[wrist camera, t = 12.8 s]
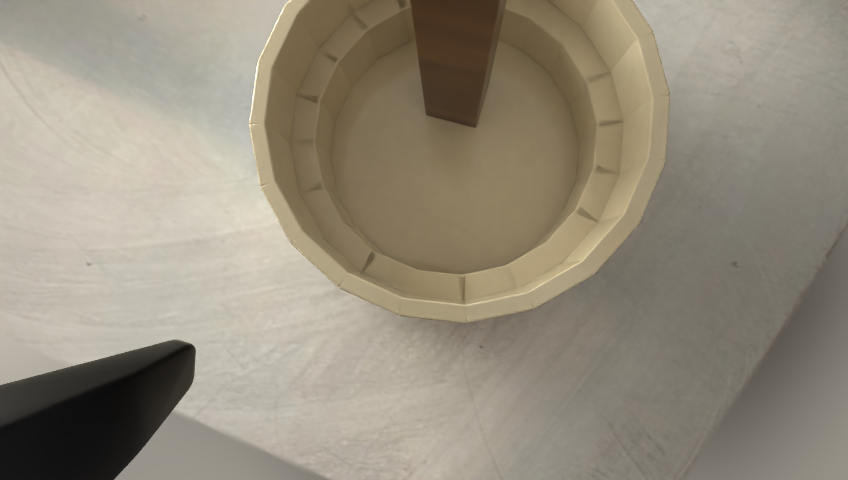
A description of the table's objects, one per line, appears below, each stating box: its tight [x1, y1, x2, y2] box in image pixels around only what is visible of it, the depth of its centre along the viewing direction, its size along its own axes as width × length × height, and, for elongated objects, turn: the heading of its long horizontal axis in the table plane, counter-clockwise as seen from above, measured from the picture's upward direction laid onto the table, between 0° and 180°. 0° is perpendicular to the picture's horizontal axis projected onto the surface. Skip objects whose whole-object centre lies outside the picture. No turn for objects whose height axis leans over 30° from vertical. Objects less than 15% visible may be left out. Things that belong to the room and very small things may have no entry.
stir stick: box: [410, 0, 507, 128], centre depth 15 cm, size 2×2×11 cm
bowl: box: [249, 0, 670, 323], centre depth 18 cm, size 14×14×6 cm
